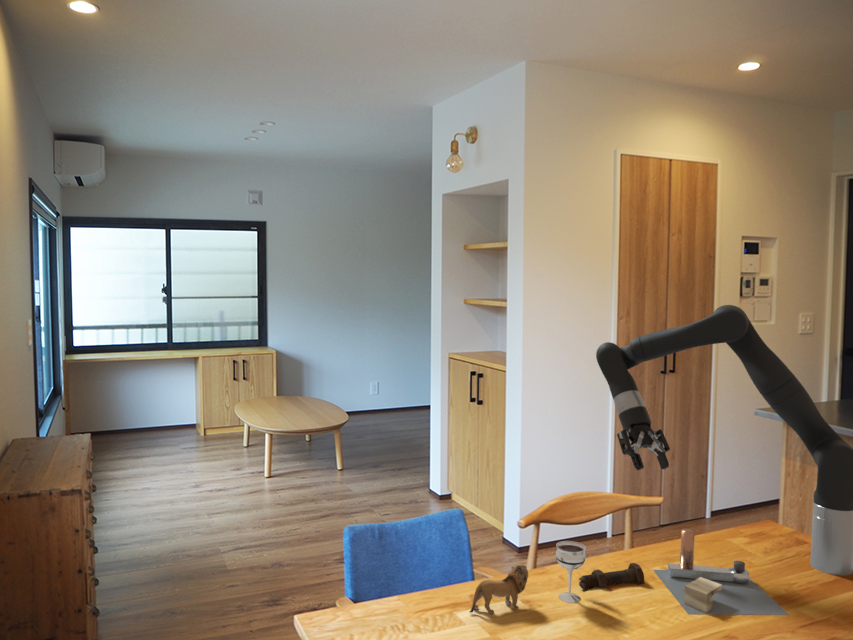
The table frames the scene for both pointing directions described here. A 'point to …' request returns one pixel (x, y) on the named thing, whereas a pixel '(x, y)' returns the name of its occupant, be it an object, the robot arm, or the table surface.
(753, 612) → the board
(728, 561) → the table surface
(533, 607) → the table surface
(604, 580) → the bolt
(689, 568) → the link
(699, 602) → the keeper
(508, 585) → the lion figurine
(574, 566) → the wineglass
